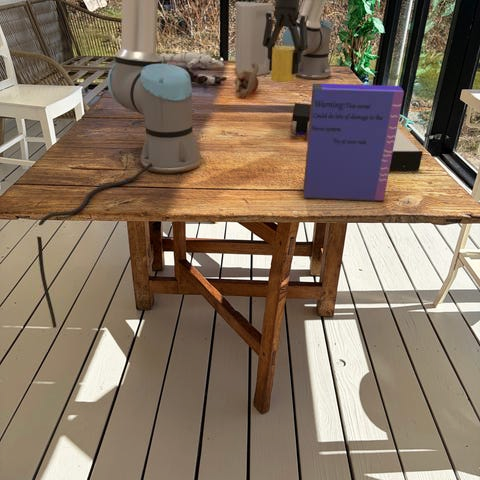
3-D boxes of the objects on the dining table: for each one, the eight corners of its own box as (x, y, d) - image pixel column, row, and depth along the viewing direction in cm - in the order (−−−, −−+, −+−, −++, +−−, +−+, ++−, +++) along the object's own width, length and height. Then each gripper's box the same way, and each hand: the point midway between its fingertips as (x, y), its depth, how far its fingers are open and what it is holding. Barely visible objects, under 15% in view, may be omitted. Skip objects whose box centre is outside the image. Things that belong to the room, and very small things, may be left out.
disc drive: (349, 170, 120) (352, 151, 117) (332, 140, 139) (334, 123, 137) (418, 171, 120) (423, 152, 118) (392, 140, 140) (395, 124, 137)
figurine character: (312, 146, 139) (312, 125, 151) (314, 121, 134) (315, 101, 146) (289, 145, 139) (291, 123, 151) (290, 120, 135) (293, 100, 147)
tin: (280, 75, 161) (282, 44, 156) (299, 79, 156) (301, 47, 151) (266, 79, 156) (267, 47, 151) (285, 83, 151) (287, 50, 146)
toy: (179, 76, 209) (178, 59, 205) (154, 65, 226) (153, 50, 223) (226, 70, 221) (226, 54, 217) (199, 60, 238) (198, 45, 235)
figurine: (149, 84, 182) (227, 91, 186) (149, 62, 179) (229, 70, 183) (154, 81, 204) (223, 88, 208) (154, 62, 201) (225, 69, 205)
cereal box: (379, 191, 109) (398, 84, 97) (383, 201, 105) (404, 90, 93) (303, 188, 110) (312, 82, 98) (304, 197, 106) (314, 88, 94)
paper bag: (273, 76, 210) (276, 6, 196) (239, 77, 209) (240, 6, 194) (266, 67, 226) (268, 2, 212) (235, 67, 225) (235, 1, 210)
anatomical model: (248, 99, 191) (242, 101, 177) (232, 84, 190) (225, 85, 176) (269, 75, 187) (265, 74, 173) (253, 59, 186) (248, 57, 172)
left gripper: (324, -6, 140) (317, 74, 152) (265, -10, 151) (262, 65, 162) (312, -5, 135) (306, 78, 147) (252, -9, 145) (250, 69, 157)
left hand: (283, 71), depth 155 cm, fingers closed on tin, 8 cm apart
